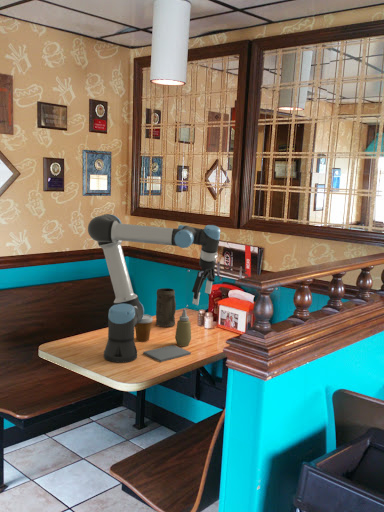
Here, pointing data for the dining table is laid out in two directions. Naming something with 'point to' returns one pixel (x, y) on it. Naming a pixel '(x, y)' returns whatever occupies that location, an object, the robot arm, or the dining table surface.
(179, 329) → the squeeze bottle
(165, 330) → the dining table surface
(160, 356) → the rubber mat
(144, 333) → the disposable coffee cup
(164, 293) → the dark brown bag
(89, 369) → the dining table surface
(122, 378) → the dining table surface
